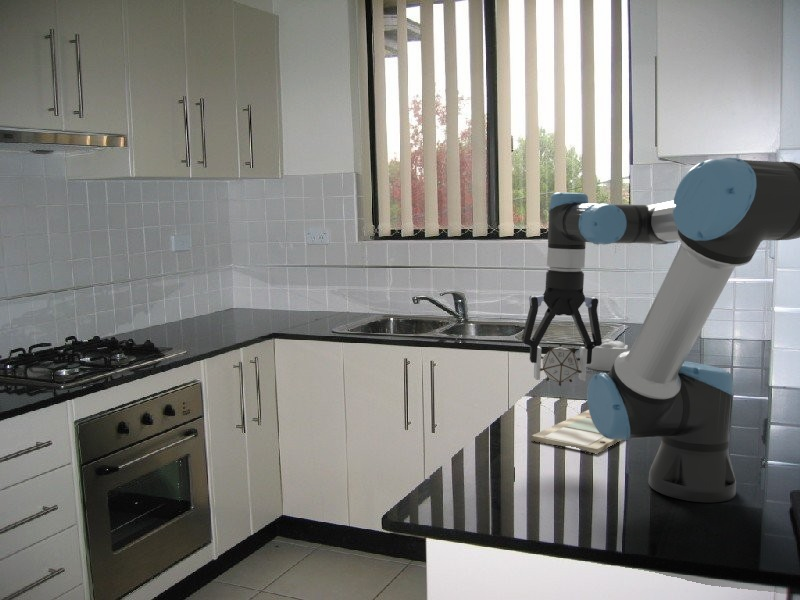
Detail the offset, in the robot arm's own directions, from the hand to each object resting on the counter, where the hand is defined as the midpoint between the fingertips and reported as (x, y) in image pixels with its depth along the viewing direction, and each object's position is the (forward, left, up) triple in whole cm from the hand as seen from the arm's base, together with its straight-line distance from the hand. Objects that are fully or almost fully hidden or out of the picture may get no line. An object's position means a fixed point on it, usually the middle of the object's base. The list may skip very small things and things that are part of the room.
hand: (559, 378), depth 173 cm
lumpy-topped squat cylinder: (+91, -34, -16) cm, 99 cm away
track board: (+16, -12, -15) cm, 25 cm away
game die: (0, 0, -1) cm, 1 cm away
